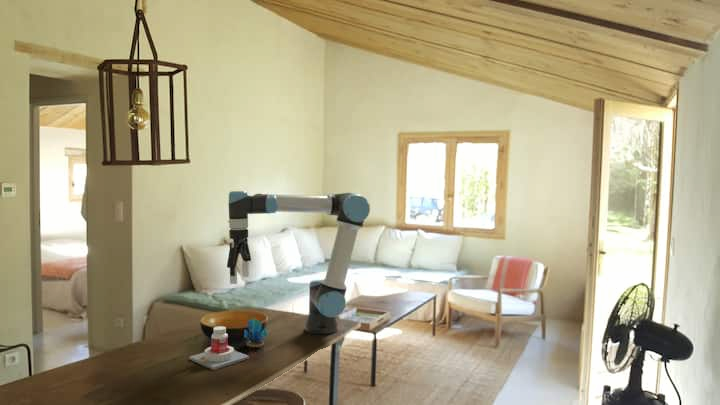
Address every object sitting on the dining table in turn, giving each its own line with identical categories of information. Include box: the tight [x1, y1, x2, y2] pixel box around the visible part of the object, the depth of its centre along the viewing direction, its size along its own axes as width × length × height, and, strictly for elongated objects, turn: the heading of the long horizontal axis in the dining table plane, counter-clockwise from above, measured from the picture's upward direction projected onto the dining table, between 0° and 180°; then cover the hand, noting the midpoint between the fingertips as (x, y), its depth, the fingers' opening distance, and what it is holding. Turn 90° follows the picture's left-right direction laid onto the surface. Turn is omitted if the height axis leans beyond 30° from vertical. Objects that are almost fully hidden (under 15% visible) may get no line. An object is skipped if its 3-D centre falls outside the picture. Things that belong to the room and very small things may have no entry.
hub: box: [188, 345, 250, 371], centre depth 198 cm, size 16×16×4 cm
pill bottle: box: [210, 325, 229, 354], centre depth 197 cm, size 6×6×11 cm
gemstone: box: [243, 317, 268, 348], centre depth 215 cm, size 7×9×12 cm
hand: (239, 280), depth 212 cm, fingers open, 13 cm apart
